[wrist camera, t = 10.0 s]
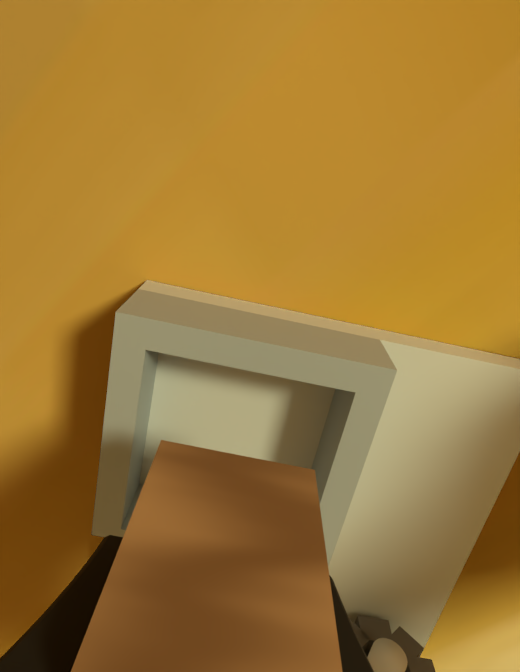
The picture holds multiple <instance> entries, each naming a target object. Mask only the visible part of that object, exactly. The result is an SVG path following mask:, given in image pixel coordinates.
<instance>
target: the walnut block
mask: <svg viewBox="0 0 520 672" xmlns="http://www.w3.org/2000/svg"><path fill="white" fill-rule="evenodd" d="M71 672H343V671H342V664H341V657H340V650H339V642H338V635H337V628H336V620H335V613H334V606H333V599H332V591H331V584H330V577H329V569H328V562H327V555H326V548H325V540H324V533H323V526H322V518H321V511H320V504H319V497H318V489H317V482H316V475H315V470H313V469H308V468H303V467H298V466H292V465H287V464H282V463H277V462H272V461H267V460H262V459H257V458H252V457H246V456H241V455H236V454H231V453H226V452H221V451H216V450H211V449H206V448H200V447H195V446H190V445H185V444H180V443H175V442H170V441H165V440H161V441H160V444H159V447H158V449H157V452H156V454H155V457H154V459H153V462H152V465H151V467H150V470H149V472H148V475H147V477H146V480H145V483H144V485H143V488H142V490H141V493H140V495H139V498H138V500H137V503H136V506H135V508H134V511H133V513H132V516H131V518H130V521H129V524H128V526H127V529H126V531H125V534H124V536H123V539H122V541H121V544H120V547H119V549H118V552H117V554H116V557H115V559H114V562H113V565H112V567H111V570H110V572H109V575H108V577H107V580H106V583H105V585H104V588H103V590H102V593H101V595H100V598H99V600H98V603H97V606H96V608H95V611H94V613H93V616H92V618H91V621H90V624H89V626H88V629H87V631H86V634H85V636H84V639H83V642H82V644H81V647H80V649H79V652H78V654H77V657H76V659H75V662H74V665H73V667H72V670H71Z"/></svg>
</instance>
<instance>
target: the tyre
mask: <svg viewBox="0 0 520 672" xmlns="http://www.w3.org/2000/svg"><path fill="white" fill-rule="evenodd" d="M349 619H350V618H349ZM350 622H351V624H352V626H353V628H354V631H355V633H356V635H357V637H358V639H359V642H360V644H361V646H362V648H363V650H364V652H365V654H366V656H367V657H368V654H369V652H370V650H371V647H372V645H373V643H374V642H375V640H377V639H379V638H387V639H390V640H392V641H394V642H396V643H397V644H398V645H399V646H400V647H401V648H402V649H403V651H404V652H405V654H406V657H407V662H408V663H407V668H406V670H405V672H435V669H434V666H433V662H432V660H430V659H425V658H419V657H420V655H421V653H422V651H423V649H424V648H423V647H422V646H421V645H420V644H419V643H418V642H417V641H416V640H415V639H414V638H412V637H411V636H410V635H409V634H408V633H407V632H406V631H405V630H404V629H403V628H401V627H400V626H399V627H398V628H397V629H396V630H395V631H394V632H393V633H391V629H390V625H389V620H384V619H379V618H373V617H368V616H362V615H357V618H356V620H355V623H354V622H353V621H352V620H351V619H350Z"/></svg>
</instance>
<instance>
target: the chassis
mask: <svg viewBox="0 0 520 672" xmlns="http://www.w3.org/2000/svg"><path fill="white" fill-rule="evenodd" d="M161 440H165V441H170V442H175V443H180V444H185V445H190V446H195V447H200V448H206V449H211V450H216V451H221V452H226V453H231V454H236V455H241V456H246V457H252V458H257V459H262V460H267V461H272V462H277V463H282V464H287V465H292V466H298V467H303V468H308V469H313V470H315V475H316V482H317V489H318V497H319V504H320V511H321V518H322V526H323V533H324V540H325V548H326V555H327V562H328V569H329V575H330V576H331V577H332V579H333V581H334V583H335V586H336V588H337V591H338V593H339V596H340V598H341V601H342V603H343V605H344V608H345V610H346V612H347V615H348V617H349V618H350V619H351V620H352V621H353V622H354V623H355V620H356V618H357V615H362V616H368V617H373V618H379V619H384V620H389V625H390V629H391V633H393V632H394V631H395V630H396V629H397V628H398V627H399V626H400V627H401V628H403V629H404V630H405V631H406V632H407V633H408V634H409V635H410V636H411V637H412V638H414V639H415V640H416V641H417V642H418V643H419V644H420V645H421V646H422V647H423V648H424V647H425V645H426V643H427V641H428V639H429V637H430V635H431V633H432V631H433V629H434V627H435V625H436V623H437V621H438V618H439V616H440V614H441V612H442V610H443V608H444V606H445V604H446V602H447V600H448V598H449V596H450V594H451V592H452V590H453V588H454V586H455V584H456V582H457V579H458V577H459V575H460V573H461V571H462V569H463V567H464V565H465V563H466V561H467V559H468V557H469V555H470V553H471V551H472V549H473V547H474V545H475V543H476V540H477V538H478V536H479V534H480V532H481V530H482V528H483V526H484V524H485V522H486V520H487V518H488V516H489V514H490V512H491V510H492V508H493V506H494V504H495V501H496V499H497V497H498V495H499V493H500V491H501V489H502V487H503V485H504V483H505V481H506V479H507V477H508V475H509V473H510V471H511V469H512V467H513V465H514V463H515V460H516V458H517V456H518V454H519V452H520V359H517V358H513V357H508V356H503V355H498V354H494V353H489V352H484V351H480V350H475V349H470V348H465V347H461V346H456V345H451V344H446V343H442V342H437V341H432V340H428V339H423V338H418V337H413V336H409V335H404V334H399V333H395V332H390V331H385V330H380V329H376V328H371V327H366V326H362V325H357V324H352V323H347V322H343V321H338V320H333V319H328V318H324V317H319V316H314V315H310V314H305V313H300V312H295V311H291V310H286V309H281V308H277V307H272V306H267V305H262V304H258V303H253V302H248V301H244V300H239V299H234V298H229V297H225V296H220V295H215V294H210V293H206V292H201V291H196V290H192V289H187V288H182V287H177V286H173V285H168V284H163V283H159V282H154V281H149V280H147V281H146V282H145V283H144V284H143V285H142V286H141V287H140V288H139V289H138V290H137V291H136V292H135V293H134V294H133V295H132V296H131V297H130V298H129V299H128V300H127V301H126V302H125V303H124V304H123V305H122V306H121V307H120V308H119V309H118V310H117V311H116V313H115V322H114V332H113V341H112V350H111V359H110V368H109V377H108V387H107V396H106V405H105V414H104V423H103V433H102V442H101V451H100V460H99V469H98V478H97V488H96V497H95V506H94V515H93V524H92V534H91V535H94V536H100V537H106V536H108V535H113V536H119V537H123V536H124V534H125V531H126V529H127V526H128V524H129V521H130V518H131V516H132V513H133V511H134V508H135V506H136V503H137V500H138V498H139V495H140V493H141V490H142V488H143V485H144V483H145V480H146V477H147V475H148V472H149V470H150V467H151V465H152V462H153V459H154V457H155V454H156V452H157V449H158V447H159V444H160V441H161ZM367 658H368V660H369V662H370V664H371V666H372V669H373V671H374V672H405V670H406V668H407V663H408V662H407V657H406V654H405V652H404V651H403V649H402V648H401V647H400V646H399V645H398V644H397V643H396V642H394V641H392V640H390V639H387V638H379V639H377V640H375V642H374V643H373V645H372V647H371V650H370V652H369V654H368V657H367Z"/></svg>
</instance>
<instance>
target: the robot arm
mask: <svg viewBox="0 0 520 672" xmlns="http://www.w3.org/2000/svg"><path fill="white" fill-rule="evenodd" d="M122 539H123V537H119V536H113V535H108V536H106V537H105V538H104V539H103V540H102V542H101V543H100V545H99V546H98V548H97V549H96V551H95V552H94V553H93V555H92V556H91V557H90V559H89V560H88V561H87V563H86V564H85V565H84V566H83V568H82V569H81V570H80V572H79V573H78V574H77V575H76V576H75V578H74V579H73V580H72V581H71V583H70V584H69V585H68V586H67V587H66V588H65V590H64V591H63V592H62V593H61V594H60V595H59V596H58V598H57V599H56V600H55V601H54V602H53V603H52V605H51V606H50V607H49V608H48V609H47V610H46V611H45V612H44V614H43V615H42V616H41V617H40V618H39V619H38V620H37V621H36V622H35V623H34V624H33V625H32V626H31V627H30V628H29V629H28V630H27V631H26V633H25V634H24V635H23V636H22V637H21V638H20V639H19V640H18V641H17V642H16V643H15V644H14V645H13V646H12V647H11V648H10V649H9V650H8V651H7V652H6V653H5V654H4V655H3V656H2V657H1V658H0V672H71V670H72V667H73V665H74V662H75V659H76V657H77V654H78V652H79V649H80V647H81V644H82V642H83V639H84V636H85V634H86V631H87V629H88V626H89V624H90V621H91V618H92V616H93V613H94V611H95V608H96V606H97V603H98V600H99V598H100V595H101V593H102V590H103V588H104V585H105V583H106V580H107V577H108V575H109V572H110V570H111V567H112V565H113V562H114V559H115V557H116V554H117V552H118V549H119V547H120V544H121V541H122ZM329 577H330V584H331V591H332V599H333V606H334V613H335V620H336V628H337V635H338V642H339V650H340V657H341V664H342V671H343V672H374V671H373V669H372V666H371V664H370V662H369V660H368V658H367V656H366V654H365V652H364V650H363V648H362V646H361V644H360V642H359V639H358V637H357V635H356V633H355V631H354V628H353V626H352V624H351V622H350V619H349V617H348V615H347V612H346V610H345V608H344V605H343V603H342V601H341V598H340V596H339V593H338V591H337V588H336V586H335V583H334V581H333V579H332V577H331V576H330V575H329Z"/></svg>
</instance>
